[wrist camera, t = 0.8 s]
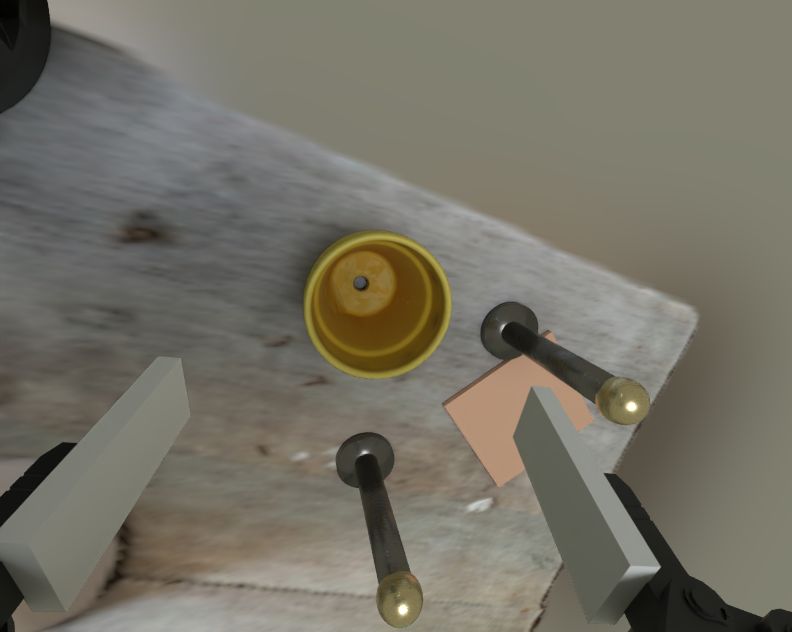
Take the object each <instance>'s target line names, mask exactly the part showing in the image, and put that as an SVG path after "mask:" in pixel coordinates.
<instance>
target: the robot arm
mask: <svg viewBox="0 0 792 632" xmlns="http://www.w3.org/2000/svg"><path fill="white" fill-rule="evenodd" d="M49 42H50V15H49V8H48V2H47V0H0V112H2V111H4V110H5V109H7V108H9V107H10V106H12V105H13V104H15V103H16V102H17V101H19V100H20V99H21V98H22V97H23V96H24V95H25V94H26V93H27V92H28V91H29V90H30V89H31V87H32V86H33V85H34V83H35V82H36V80H37V79H38V77H39V75H40V73H41V71H42V69H43V66H44V64H45V61H46V57H47V54H48V48H49ZM190 416H191V414H190V409H189V403H188V397H187V391H186V386H185V380H184V374H183V369H182V363H181V358H174V357H162V356H158V357H157V358H156V359H155V360H154V361H153V363H152V364H151V365H150V366H149V367H148V368H147V369H146V370H145V371H144V372H143V373H142V375H141V376H140V377H139V378H138V379H137V380H136V381H135V382H134V383H133V384H132V385H131V386H130V388H129V389H128V390H127V391H126V392H125V393H124V394H123V395H122V396H121V397H120V398H119V399H118V401H117V402H116V403H115V404H114V405H113V406H112V407H111V408H110V409H109V410H108V411H107V412H106V414H105V415H104V416H103V417H102V418H101V419H100V420H99V421H98V422H97V423H96V424H95V426H94V427H93V428H92V429H91V430H90V431H89V432H88V433H87V434H86V435H85V436H84V437H83V439H82V440H81V441H80V442H79V443H67V442H63V443H61V444H59V445H58V446H56V447H55V448H53V449H51V450H50V451H48V452H47V453H45V454H44V455H42V456H41V457H40V458H39V459H38V460H37V461H36V462H35V463H34V464H33V465H32V466H31V467H30V468H29V469H28V470H27V471H26V472H25V473H24V475H23V476H22V477H20V478H19V479H18V480H17V481H16V482H15V483H14V484H13V485H12V486H11V487H10V490H9V491H6V492H5V493H4V494H3V495H2V496H1V497H0V632H15V625H14V621H13V618H12V616H11V615H12V614H13V612H14V611H15V610H16V608H17V607H18V606H19V604H20V603H21V602H22V600H23V599H24V600H25V602H26V603H27V605H28V606H29V608H30V609H31V611H33V612H34V611H35V612H67V611H68V609H69V607H70V606H71V604H72V603H73V601H74V599H75V598H76V596H77V595H78V593H79V592H80V590H81V588H82V587H83V585H84V584H85V582H86V581H87V579H88V577H89V576H90V574H91V573H92V571H93V569H94V568H95V566H96V565H97V563H98V561H99V560H100V558H101V557H102V555H103V554H104V552H105V551H106V549H107V547H108V546H109V544H110V543H111V541H112V539H113V538H114V536H115V535H116V533H117V532H118V530H119V528H120V527H121V525H122V524H123V522H124V520H125V519H126V517H127V516H128V514H129V513H130V511H131V509H132V508H133V506H134V505H135V503H136V502H137V500H138V498H139V497H140V495H141V494H142V492H143V490H144V489H145V487H146V486H147V484H148V483H149V481H150V479H151V478H152V476H153V475H154V473H155V471H156V470H157V468H158V467H159V465H160V464H161V462H162V460H163V459H164V457H165V456H166V454H167V453H168V451H169V449H170V448H171V446H172V445H173V443H174V441H175V440H176V438H177V437H178V435H179V434H180V432H181V430H182V429H183V427H184V426H185V424H186V422H187V421H188V419H189V418H190ZM513 439H514V442H515V444H516V447H517V449H518V452H519V454H520V457H521V459H522V461H523V464H524V466H525V469H526V471H527V474H528V476H529V479H530V481H531V484H532V486H533V489H534V491H535V494H536V496H537V499H538V501H539V504H540V506H541V508H542V511H543V513H544V516H545V518H546V521H547V523H548V526H549V528H550V531H551V533H552V536H553V538H554V541H555V543H556V546H557V548H558V551H559V553H560V555H561V558H562V560H563V563H564V565H565V568H566V570H567V573H568V575H569V578H570V580H571V583H572V585H573V588H574V590H575V593H576V595H577V598H578V600H579V602H580V605H581V607H582V610H583V612H584V615H585V617H586V620H587V622H588V624H610V625H612V624H613V625H615V624H616V623H617V621H618V620H619V619H620V618H621V617H622V615H623V614H624V613H625V615H626V617H627V619H628V621H629V623H630V626H631V628H630V630H629V631H628V632H792V612H790V611H786V610H783V609H775V610H771V611H770V612H769V613H768V614H767V615H766V616H765V617H760V616H757V615H754V614H752V613H749V612H746V611H744V610H741V609H738V608H735V607H733V606H730V605H727V604H726V603H725V602H724V601H723V600H722V599H721V598H720V597H719V595H718V594H717V593H716V592H715V591H714V590H712V589H711V588H710V587H709V586H707V585H706V584H705V583H703V582H702V581H699V580H697V579H695V578H693V577H691V576H689V575H688V574H687V572H686V571H685V569H684V568H683V566H682V565H681V563H680V562H679V560H678V559H677V558H676V556H675V554H674V553H673V551H672V550H671V548H670V547H669V545H668V544H667V542H666V541H665V539H664V538H663V536H662V535H661V533H660V532H659V530H658V529H657V527H656V526H655V524H654V523H653V521H651V520H650V517H649V515H648V514H647V512H646V511H645V509H644V508H643V507H641V503H640V502H639V500H638V499H637V497H636V496H635V494H634V493H633V491H632V490H631V488H630V487H629V486H628V485H627V484H626V483H624V482H623V481H622V480H621V479H620V478H619V477H618V476H617V475H616V474H608V473H603V472H602V470H601V469H600V467H599V466H598V464H597V462H596V461H595V459H594V457H593V456H592V454H591V453H590V451H589V449H588V448H587V446H586V444H585V443H584V441H583V440H582V438H581V436H580V435H579V433H578V431H577V430H576V428H575V427H574V425H573V423H572V422H571V420H570V418H569V417H568V415H567V414H566V412H565V410H564V409H563V407H562V405H561V404H560V402H559V401H558V399H557V397H556V396H555V394H554V392H553V391H552V389H551V388H550V387H541V386H531V388H530V391H529V394H528V397H527V399H526V402H525V405H524V408H523V410H522V413H521V416H520V419H519V421H518V424H517V427H516V429H515V432H514V435H513Z"/></svg>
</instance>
